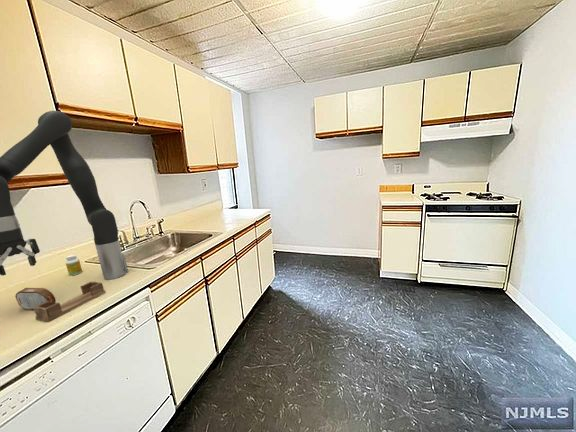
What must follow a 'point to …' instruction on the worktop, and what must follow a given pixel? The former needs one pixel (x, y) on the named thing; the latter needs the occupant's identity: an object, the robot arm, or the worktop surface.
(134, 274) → the worktop surface
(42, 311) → the rack
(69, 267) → the supplement bottle
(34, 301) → the tin
